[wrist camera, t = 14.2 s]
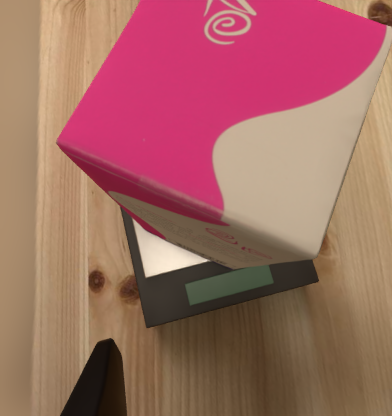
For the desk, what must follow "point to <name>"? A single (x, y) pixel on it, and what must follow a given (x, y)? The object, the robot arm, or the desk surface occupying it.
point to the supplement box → (230, 122)
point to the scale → (199, 278)
